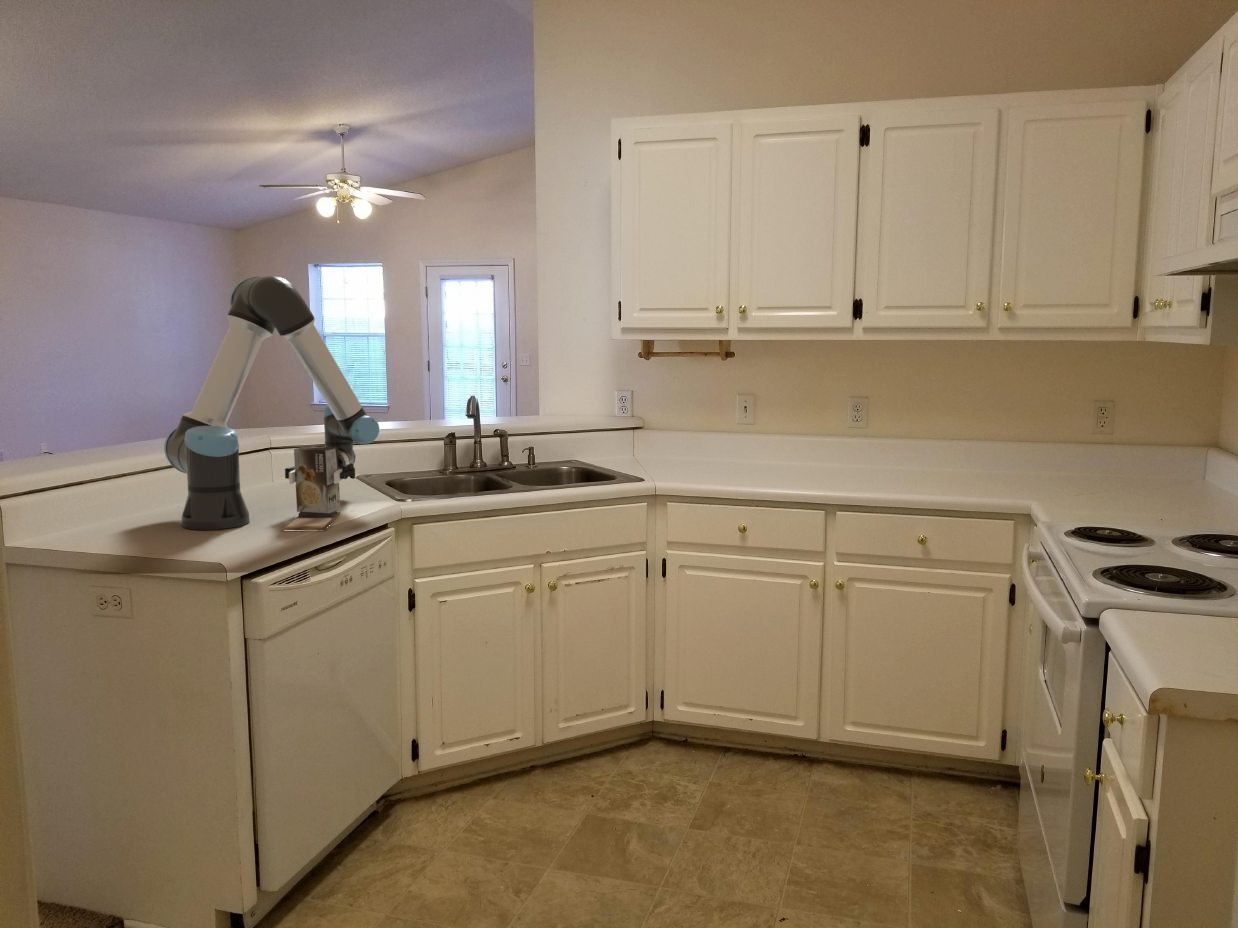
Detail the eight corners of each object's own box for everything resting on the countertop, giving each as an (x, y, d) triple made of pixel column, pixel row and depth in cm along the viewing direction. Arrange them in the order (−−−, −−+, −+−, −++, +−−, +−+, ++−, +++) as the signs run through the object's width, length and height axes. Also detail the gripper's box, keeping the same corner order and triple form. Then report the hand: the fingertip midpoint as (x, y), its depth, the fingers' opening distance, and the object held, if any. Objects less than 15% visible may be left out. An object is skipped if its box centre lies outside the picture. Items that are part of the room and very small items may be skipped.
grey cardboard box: (341, 509, 230) (339, 447, 227) (328, 514, 223) (326, 450, 221) (309, 507, 232) (306, 445, 229) (295, 512, 225) (292, 448, 223)
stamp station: (283, 531, 213) (282, 523, 213) (302, 515, 231) (302, 507, 231) (324, 531, 214) (324, 522, 214) (340, 515, 232) (340, 507, 232)
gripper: (375, 478, 246) (360, 493, 224) (289, 478, 243) (266, 493, 221) (374, 451, 244) (359, 463, 223) (288, 451, 242) (265, 463, 220)
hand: (313, 478), depth 222 cm, fingers closed on grey cardboard box, 10 cm apart
